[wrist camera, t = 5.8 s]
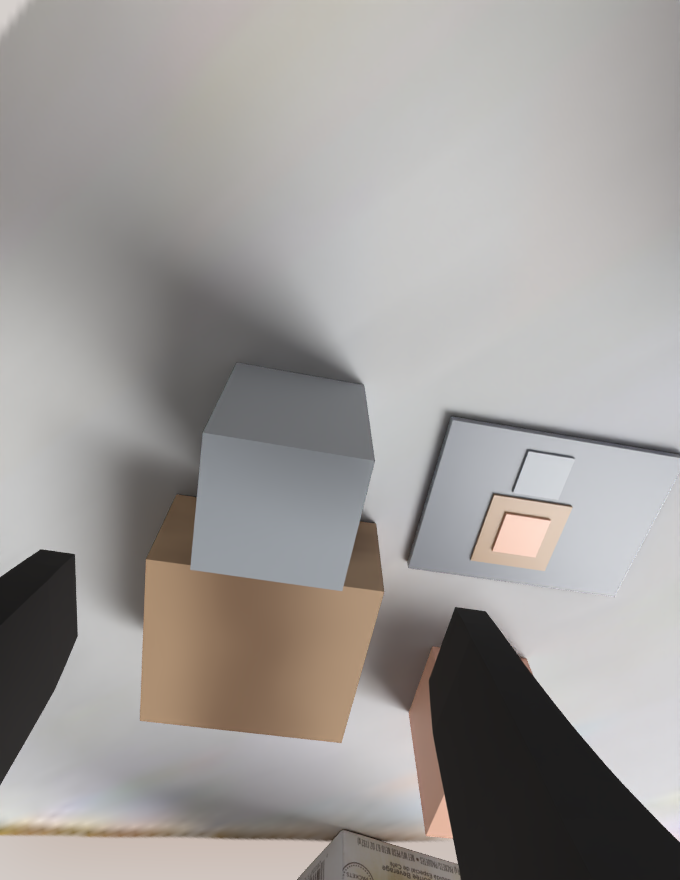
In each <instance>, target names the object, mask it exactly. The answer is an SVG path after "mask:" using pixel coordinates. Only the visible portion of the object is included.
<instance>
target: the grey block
mask: <svg viewBox="0 0 680 880" xmlns="http://www.w3.org/2000/svg"><path fill="white" fill-rule="evenodd" d="M374 462H375V458H374V451H373V444H372V437H371V430H370V422H369V415H368V408H367V401H366V394H365V387H364V385H361V384H356V383H350V382H344V381H339V380H333V379H327V378H322V377H316V376H311V375H305V374H299V373H294V372H288V371H282V370H277V369H271V368H266V367H260V366H254V365H249V364H243V363H236V365H235V367H234V369H233V371H232V373H231V375H230V377H229V379H228V381H227V384H226V386H225V388H224V390H223V392H222V394H221V396H220V398H219V400H218V402H217V404H216V406H215V408H214V410H213V412H212V415H211V417H210V419H209V421H208V423H207V425H206V427H205V429H204V431H203V436H202V447H201V458H200V468H199V479H198V490H197V501H196V512H195V523H194V534H193V544H192V555H191V566H190V570H196V571H203V572H210V573H217V574H224V575H231V576H238V577H245V578H252V579H259V580H266V581H273V582H280V583H287V584H295V585H302V586H309V587H316V588H323V589H330V590H337V591H342V590H343V586H344V582H345V578H346V574H347V570H348V566H349V562H350V558H351V554H352V550H353V546H354V542H355V538H356V534H357V530H358V526H359V522H360V518H361V514H362V510H363V506H364V502H365V498H366V494H367V490H368V486H369V482H370V478H371V474H372V470H373V466H374Z"/></svg>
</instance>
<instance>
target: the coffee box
mask: <svg viewBox="0 0 680 880" xmlns="http://www.w3.org/2000/svg"><path fill="white" fill-rule="evenodd" d="M297 880H461V878H460V872H459V866H458V864H455V863H452V862H449V861H445V860H442V859H439V858H435V857H432V856H429V855H425V854H422V853H419V852H415V851H412V850H409V849H406V848H402V847H399V846H396V845H392V844H389V843H386V842H382V841H379V840H376V839H372V838H369V837H366V836H363V835H359V834H356V833H353V832H349V831H346V830H342V831H340V833H339V834H338V835H337V836H336V837H335V838H334V839H333V840H332V842H331V843H330V844H329V845H328V846H327V847H326V848H325V849H324V851H322V853H321V854H320V855H319V856H318V857H317V858H316V859H315V860H314V861H313V863H311V865H310V866H309V867H308V868H307V869H306V870H305V871H304V872H303V873H302V875H301V876H300V877H299V878H298V879H297Z"/></svg>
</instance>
